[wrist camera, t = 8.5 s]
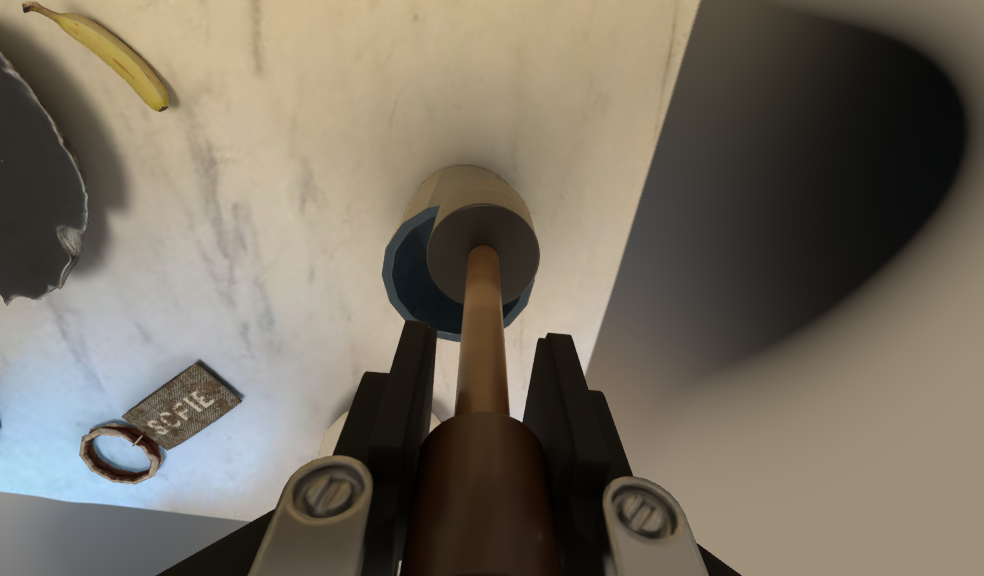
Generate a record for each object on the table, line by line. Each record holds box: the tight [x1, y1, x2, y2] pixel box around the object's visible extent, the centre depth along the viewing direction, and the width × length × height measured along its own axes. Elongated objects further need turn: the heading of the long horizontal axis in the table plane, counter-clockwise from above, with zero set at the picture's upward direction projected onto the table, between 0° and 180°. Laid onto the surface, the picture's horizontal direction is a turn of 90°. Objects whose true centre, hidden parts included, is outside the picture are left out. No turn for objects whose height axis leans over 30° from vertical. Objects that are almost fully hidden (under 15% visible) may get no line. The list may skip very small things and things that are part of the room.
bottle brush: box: [399, 179, 562, 576], centre depth 14 cm, size 4×4×17 cm
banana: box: [22, 1, 169, 112], centre depth 31 cm, size 8×2×4 cm, turn 42°
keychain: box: [79, 363, 242, 484], centre depth 47 cm, size 8×19×2 cm, turn 125°
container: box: [382, 165, 535, 342], centre depth 33 cm, size 9×9×11 cm
